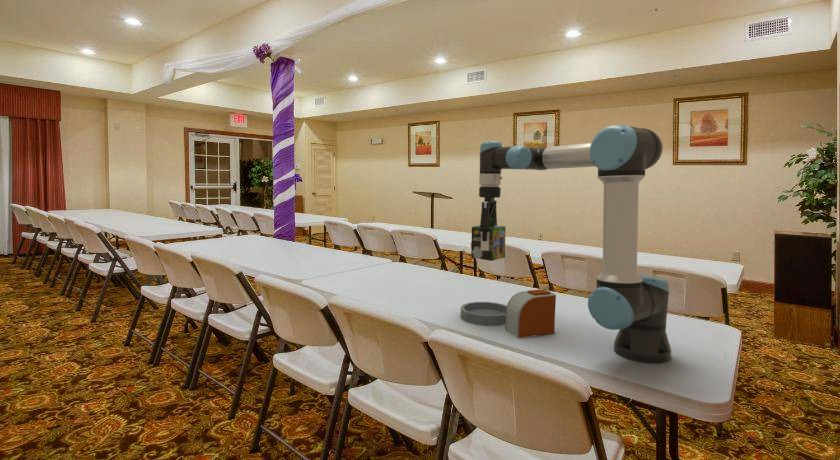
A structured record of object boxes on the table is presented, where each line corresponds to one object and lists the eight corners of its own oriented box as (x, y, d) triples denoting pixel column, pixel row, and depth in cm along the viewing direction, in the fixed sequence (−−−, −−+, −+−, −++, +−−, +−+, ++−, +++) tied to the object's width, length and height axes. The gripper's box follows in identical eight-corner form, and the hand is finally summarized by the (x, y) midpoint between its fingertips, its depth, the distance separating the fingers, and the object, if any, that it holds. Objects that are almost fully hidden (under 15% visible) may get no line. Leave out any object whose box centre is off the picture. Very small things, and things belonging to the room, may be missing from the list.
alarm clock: (541, 325, 161) (543, 287, 160) (556, 333, 153) (558, 293, 152) (504, 329, 156) (505, 290, 154) (518, 338, 148) (520, 296, 146)
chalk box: (505, 258, 167) (507, 217, 166) (492, 261, 160) (493, 218, 159) (483, 255, 173) (485, 215, 172) (470, 258, 166) (471, 216, 165)
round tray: (506, 328, 157) (507, 318, 157) (454, 321, 164) (455, 312, 163) (515, 313, 175) (515, 304, 174) (467, 308, 181) (468, 299, 181)
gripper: (493, 186, 152) (492, 253, 154) (506, 186, 173) (504, 244, 176) (471, 186, 154) (470, 252, 157) (486, 185, 176) (484, 243, 178)
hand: (488, 248), depth 166 cm, fingers closed on chalk box, 10 cm apart
